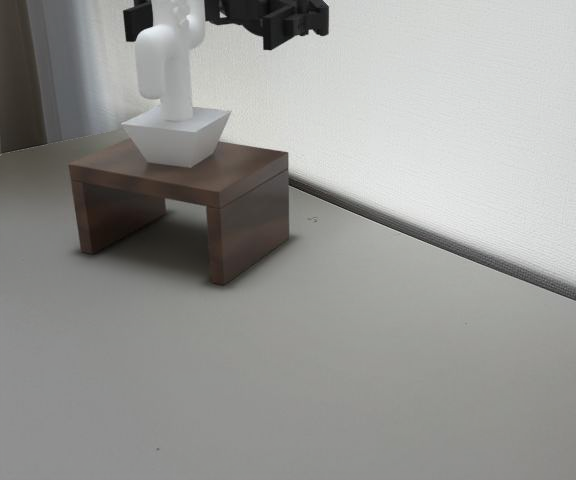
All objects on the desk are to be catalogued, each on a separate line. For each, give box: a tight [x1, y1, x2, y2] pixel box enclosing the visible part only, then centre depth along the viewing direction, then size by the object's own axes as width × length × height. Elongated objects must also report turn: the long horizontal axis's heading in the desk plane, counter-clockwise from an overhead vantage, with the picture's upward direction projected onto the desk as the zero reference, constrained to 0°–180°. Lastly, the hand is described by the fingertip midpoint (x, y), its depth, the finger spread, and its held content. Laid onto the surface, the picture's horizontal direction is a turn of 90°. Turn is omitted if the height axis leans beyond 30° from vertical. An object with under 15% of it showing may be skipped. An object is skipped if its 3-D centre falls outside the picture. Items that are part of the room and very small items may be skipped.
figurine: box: [120, 0, 233, 168], centre depth 75 cm, size 7×9×15 cm
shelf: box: [67, 137, 290, 286], centre depth 81 cm, size 16×12×8 cm
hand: (195, 30), depth 78 cm, fingers open, 13 cm apart
